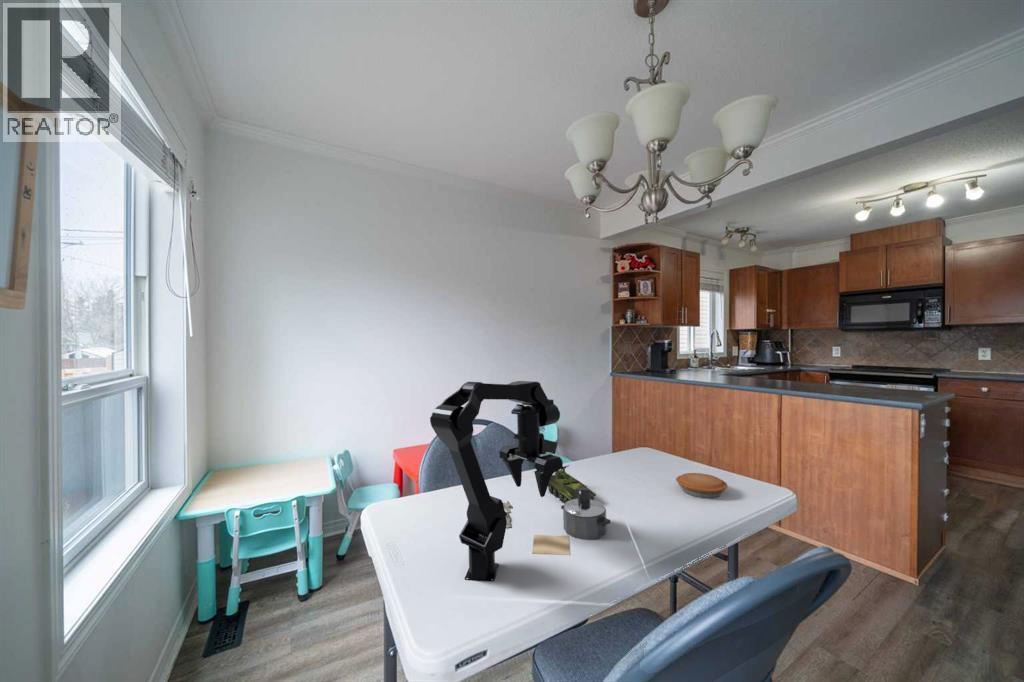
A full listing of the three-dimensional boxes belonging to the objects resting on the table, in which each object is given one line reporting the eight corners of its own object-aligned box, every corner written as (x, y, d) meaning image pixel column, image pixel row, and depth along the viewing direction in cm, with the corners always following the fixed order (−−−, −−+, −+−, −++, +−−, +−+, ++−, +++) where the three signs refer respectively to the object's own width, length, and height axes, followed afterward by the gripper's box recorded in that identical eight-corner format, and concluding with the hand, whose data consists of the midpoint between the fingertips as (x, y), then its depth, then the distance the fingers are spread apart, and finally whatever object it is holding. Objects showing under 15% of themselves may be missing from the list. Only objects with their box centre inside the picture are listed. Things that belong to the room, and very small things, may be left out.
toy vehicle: (568, 486, 133) (567, 458, 134) (598, 506, 115) (597, 474, 115) (544, 489, 130) (544, 461, 131) (572, 512, 112) (571, 478, 112)
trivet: (570, 557, 86) (570, 554, 86) (532, 555, 87) (532, 553, 87) (568, 538, 95) (568, 535, 95) (534, 537, 96) (534, 534, 96)
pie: (669, 484, 132) (668, 470, 132) (713, 484, 131) (712, 469, 131) (687, 501, 116) (687, 485, 117) (737, 501, 116) (737, 485, 116)
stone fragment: (484, 543, 96) (522, 538, 98) (484, 532, 96) (521, 527, 98) (477, 503, 121) (507, 500, 123) (477, 494, 121) (507, 491, 123)
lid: (607, 522, 93) (607, 497, 93) (564, 521, 94) (564, 497, 94) (602, 504, 104) (601, 482, 104) (563, 503, 105) (563, 482, 105)
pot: (620, 534, 97) (619, 511, 97) (593, 549, 90) (592, 524, 90) (578, 516, 108) (577, 495, 108) (551, 528, 101) (551, 506, 101)
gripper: (577, 430, 92) (579, 493, 92) (528, 421, 107) (530, 475, 106) (544, 437, 85) (546, 505, 85) (497, 426, 100) (499, 484, 99)
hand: (530, 491), depth 94 cm, fingers open, 9 cm apart
